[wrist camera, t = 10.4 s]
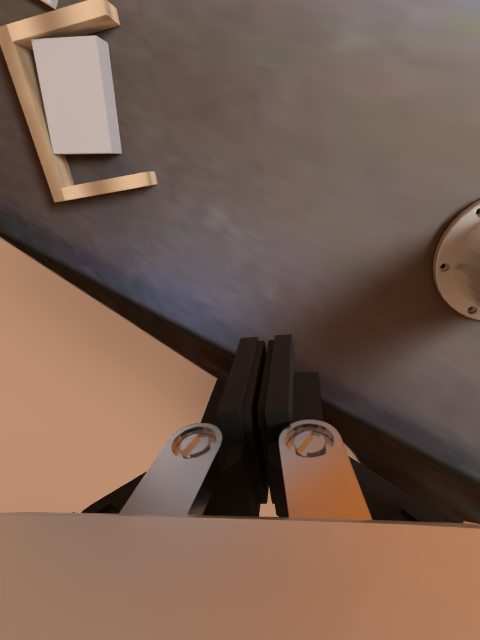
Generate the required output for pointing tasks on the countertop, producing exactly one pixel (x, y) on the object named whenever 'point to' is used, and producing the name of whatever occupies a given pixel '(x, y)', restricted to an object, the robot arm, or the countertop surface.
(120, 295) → the countertop surface
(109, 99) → the light grey slab
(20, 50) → the pine rack
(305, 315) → the countertop surface
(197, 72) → the countertop surface
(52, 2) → the external hard drive
